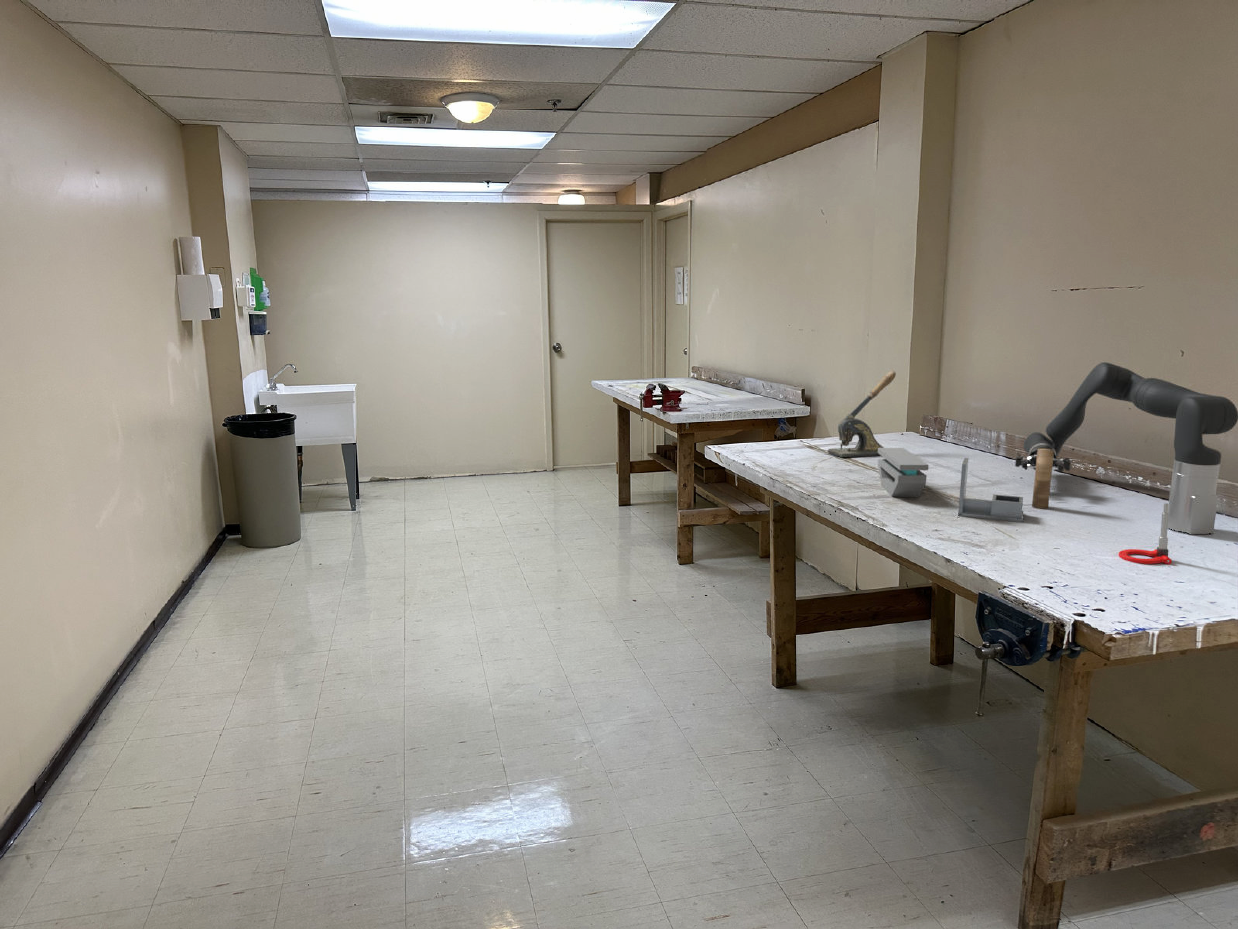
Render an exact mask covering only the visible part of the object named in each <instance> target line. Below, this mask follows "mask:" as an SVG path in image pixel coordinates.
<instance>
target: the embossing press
mask: <svg viewBox="0 0 1238 929" xmlns="http://www.w3.org/2000/svg"><path fill="white" fill-rule="evenodd" d="M896 374H897V373H896V371H894V370H891V371H890V372H888V373H886V374H885V375H884V376H883V377H882V378H881V380H880V381H879V382H878V384H877V385H876V386H875V387H873V389H871V390H870V391H869V394H867V396H866V397H865V398H864V399H863V400H862V401H861V402H860V403H859V404H858V405H857V406H856V407H855V408H854V409H852V411H851V412H849V414H847V415H846V416H845V417H844V418H843V419H842V420H841V421H840V422H839V423H838V426H837V430H838V431H837V432H838V435H839V441H841V443H840V444H839V445H840V448H839V447H838V448H828V450H827V452H826V453H827V454H831V455H833V456H836V457H840V458H849V457H850V458H851V457H874V456H875V457H876V456H881V455H880V454H879V453H878V448H885V446H882V445H881V444H880V443H879V442H878V441H877V439H876V438H875V436H874V433H873V431H872V429H871V428H870V426H869V425H868V424H867V422H864V421H863V420H861V419H858V418H856V416H857V415H858V414H859V413H860V412H861V411H862V410H863V408H865V406H866V405H868V403H870V401H872V400H873V399H874V398H877V396H878V395H879V394H880V393H881V392H882V391H883V390H884V389H885V388H886V387H887V386H889V385H890V384H891V383H892V382H893V381H894V379H895V377H896ZM855 435H856V436H858V440H857V443H856V444H855V447H849V444H850V443H851V442H853V438H854V437H855ZM843 446H844V447H843Z"/></svg>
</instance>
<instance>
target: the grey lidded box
mask: <svg viewBox="0 0 1238 929" xmlns="http://www.w3.org/2000/svg"><path fill="white" fill-rule="evenodd" d="M878 453H879V454H880V455H879V456H881V457H883V458H878V459H877V460H878V461H877V469H878V474H879V479H880V481H879V482H880V486H882V487H883V488H884V489H885V490H886V491H887V492H888V493H889V494H890V495H891V496H890V497H908V496H919V497H920V495H921V493H922V491H923V490H924V488H925V486H926V483H927V476H928V475H927V474H926V473H924V472H923V471H929V464H928V463H927V462H925V461H924V460H922V459H920V458H919V457H918V456H916V455H915V454H913V453H912V452H911V451H909V450H907V449H906V448H905V447H884V448H878ZM882 487H881V488H882ZM883 488H882V489H883ZM884 489H883V490H884ZM885 490H884V491H885ZM886 491H885V492H886ZM887 492H886V493H887ZM888 493H887V494H888ZM889 494H888V495H889Z"/></svg>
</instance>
